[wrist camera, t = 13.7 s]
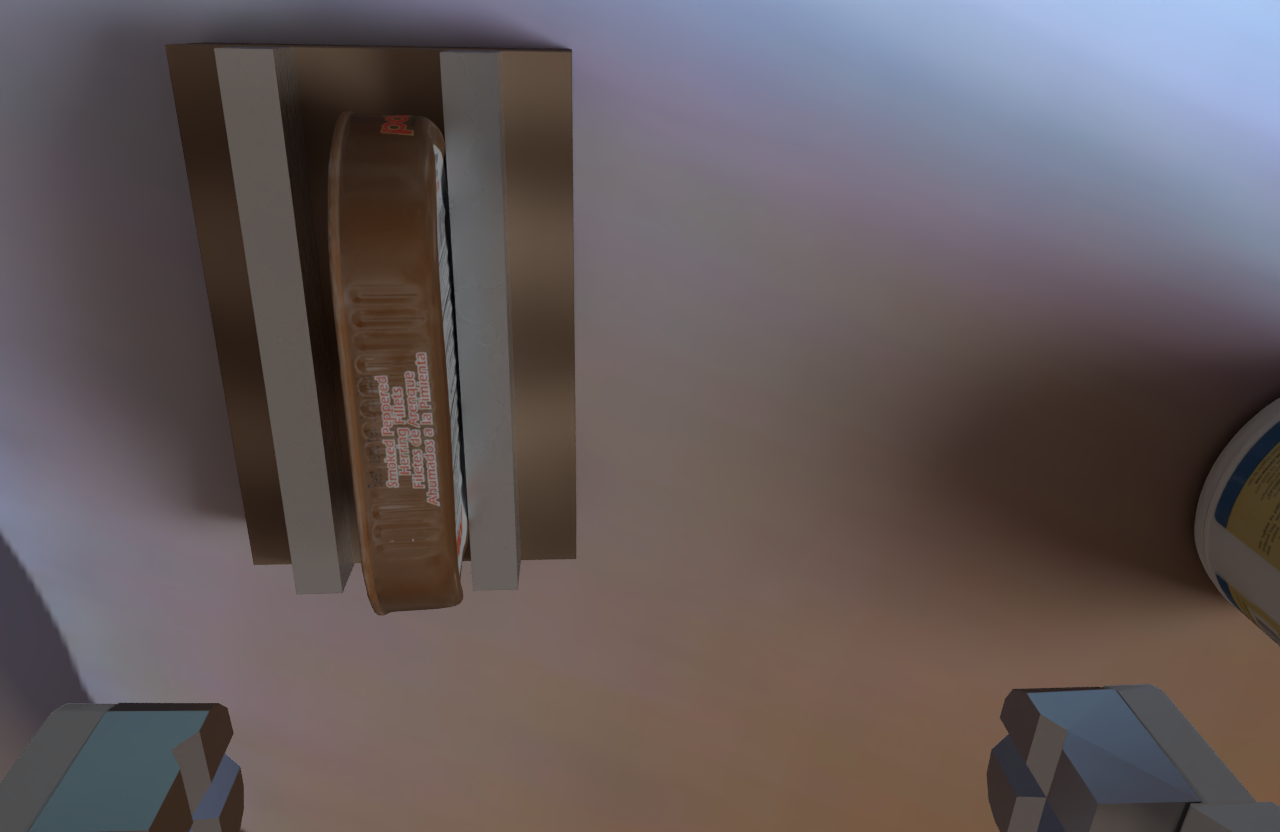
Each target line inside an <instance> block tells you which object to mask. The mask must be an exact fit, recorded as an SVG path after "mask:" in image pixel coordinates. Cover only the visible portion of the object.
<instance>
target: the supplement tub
mask: <svg viewBox="0 0 1280 832" xmlns="http://www.w3.org/2000/svg"><path fill="white" fill-rule="evenodd" d="M1194 537H1195V544H1196V548H1197V552H1198V555H1199V558H1200V560H1201V562H1202V564H1203V566H1204V569H1205V571H1206V572H1207V574H1208V576H1209V577H1210V579H1211V580H1212V582H1213V583H1214V585H1215V586H1216V588H1217V589H1218V590H1219V592H1220V593H1221V594H1222V596H1223V597H1224V598H1225V599H1226V600H1227V601H1228V602H1229V603H1230V604H1231V605H1232V606H1234V607H1235V608H1236V609H1238V610H1239V611H1241V612H1242V613H1243V614H1244V615H1245V616H1246V617H1247V618H1248V619H1250V620H1251V621H1252V622H1253V623H1254V624H1255V625H1256V626H1257V627H1259V628H1260V629H1261V630H1262V631H1263V632H1264V633H1265V634H1266V635H1268V636H1269V637H1270V638H1271V639H1272V640H1273V641H1274V642H1275V643H1277V644H1278V645H1279V646H1280V398H1278V399H1276V400H1275V401H1274V402H1272V403H1271V404H1269V405H1268V406H1266V407H1265V408H1263V409H1262V410H1261V411H1260V412H1258V413H1257V414H1256V415H1255V416H1254V417H1253V418H1252V419H1251V420H1249V421H1248V422H1247V423H1246V424H1245V425H1244V426H1243V427H1242V428H1241V429H1240V430H1239V431H1238V432H1237V433H1236V434H1235V435H1234V437H1233V438H1232V439H1231V440H1230V442H1229V443H1228V444H1227V445H1226V447H1225V448H1224V449H1223V451H1222V452H1221V453H1220V455H1219V457H1218V458H1217V460H1216V461H1215V463H1214V464H1213V466H1212V468H1211V470H1210V472H1209V474H1208V476H1207V478H1206V480H1205V483H1204V486H1203V488H1202V491H1201V493H1200V497H1199V500H1198V505H1197V510H1196V516H1195V525H1194Z"/></svg>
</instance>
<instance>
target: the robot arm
mask: <svg viewBox="0 0 1280 832" xmlns="http://www.w3.org/2000/svg"><path fill="white" fill-rule="evenodd" d="M1000 719H1001V721H1002V722H1003V724H1004V726H1005V728H1006V729H1007V731H1008V733H1009V734H1008V735H1007V736H1006V737H1005V738H1004V739H1003V740H1002V741H1000V742H999V743H998V744H997V745H996V746H995V747H994V748H993V749H992V750H991V755H990V760H989V765H988V769H987V786H988V799H989V803H990V806H991V810H992V813H993V817H994V820H995V822H996V824H997V826H998V829H999V831H1000V832H1280V807H1279V806H1278V805H1276V804H1274V803H1273V802H1256V801H1255V799H1254V798H1253V797H1252V796H1251V795H1250V793H1249V792H1248V791H1247V790H1246V789H1245V787H1244V786H1243V785H1242V784H1241V783H1240V782H1239V780H1238V779H1237V778H1236V777H1235V776H1234V774H1233V773H1232V772H1231V771H1230V770H1229V768H1228V767H1227V766H1226V765H1225V764H1224V763H1223V761H1222V760H1221V759H1220V758H1219V757H1218V755H1217V754H1216V753H1215V752H1214V751H1213V749H1212V748H1211V747H1210V746H1209V745H1208V744H1207V742H1206V741H1205V740H1204V739H1203V738H1202V736H1201V735H1200V734H1199V733H1198V732H1197V730H1196V729H1195V728H1194V727H1193V726H1192V725H1191V723H1190V722H1189V721H1188V720H1187V719H1186V717H1185V716H1184V715H1183V714H1182V713H1181V711H1180V710H1179V709H1178V708H1177V707H1176V706H1175V704H1174V703H1173V702H1172V701H1171V700H1170V698H1169V697H1168V696H1167V695H1166V694H1165V693H1164V692H1163V691H1162V690H1160V689H1158V688H1157V687H1155V686H1153V685H1151V684H1141V685H1113V686H1104V687H1066V688H1028V689H1012V691H1011V692H1010V693H1009V695H1008V696H1007V697H1006V698H1005V701H1004V704H1003V708H1002V711H1001V715H1000ZM232 736H233V729H232V725H231V721H230V716H229V712H228V708H226V707H225V706H223V705H221V704H219V703H118V704H68V703H67V704H65V705H63V706H62V707H60V708H58V709H57V710H55V711H53V712H52V713H51V714H50V715H49V717H48V718H47V720H46V721H45V722H44V724H43V725H42V726H41V728H40V729H39V730H38V732H37V733H36V735H35V736H34V737H33V739H32V740H31V741H30V743H29V745H28V746H27V747H26V748H25V750H24V751H23V752H22V754H21V755H20V757H19V758H18V759H17V761H16V762H15V764H14V765H13V766H12V768H11V769H10V770H9V772H8V773H7V775H6V776H5V777H4V779H3V780H2V781H1V783H0V832H240V827H241V821H242V816H243V810H244V785H243V779H242V774H241V768H240V766H239V765H238V764H237V763H235V762H234V761H233V760H232V759H231V758H230V757H229V756H227V755H226V754H225V751H226V749H227V747H228V745H229V742H230V740H231V738H232Z"/></svg>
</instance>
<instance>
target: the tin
mask: <svg viewBox="0 0 1280 832" xmlns="http://www.w3.org/2000/svg"><path fill="white" fill-rule="evenodd" d="M328 167H329V170H328V250H329V266H330V280H331V288H332V301H333V311H334V319H335V328H336V338H337V347H338V355H339V362H340V375H341V383H342V393H343V400H344V410H345V416H346V425H347V436H348V445H349V454H350V464H351V471H352V480H353V492H354V500H355V508H356V518H357V528H358V539H359V547H360V556H361V564H362V571H363V576H364V581H365V585H366V590H367V595H368V598H369V601H370V603H371V605H372V608H373V610H374V612H375V613H376V614H378V615H386V614H388V613H390V612H396V611H410V610H427V609H439V608H446V607H452V606H456V605H458V604H460V603H461V602H462V600H463V590H462V587H461V582H460V579H461V568H462V560H463V556H464V553H465V550H466V546H467V542H468V530H469V518H468V502H467V486H466V470H465V454H464V438H463V421H462V405H461V389H460V373H459V357H458V341H457V325H456V308H455V292H454V276H453V260H452V244H451V228H450V212H449V195H448V179H447V163H446V147H445V141H444V138H443V135H442V133H441V131H440V130H439V128H438V127H437V126H436V125H435V124H434V123H433V122H431V121H430V120H429V119H428V118H425V117H422V116H410V115H394V116H373V115H357V114H356V113H355V112H352V111H344V112H342V113H341V115H340V116H339V118H338V120H337V122H336V125H335V129H334V134H333V138H332V145H331V150H330V160H329V165H328Z"/></svg>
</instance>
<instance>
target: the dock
mask: <svg viewBox="0 0 1280 832" xmlns="http://www.w3.org/2000/svg"><path fill="white" fill-rule="evenodd" d="M165 46H166V52H167V58H168V64H169V70H170V76H171V82H172V87H173V93H174V99H175V105H176V111H177V117H178V123H179V129H180V134H181V140H182V146H183V152H184V158H185V164H186V170H187V176H188V181H189V187H190V193H191V199H192V205H193V211H194V217H195V223H196V228H197V234H198V240H199V246H200V252H201V258H202V264H203V270H204V275H205V281H206V287H207V293H208V299H209V305H210V311H211V317H212V322H213V328H214V334H215V340H216V346H217V352H218V358H219V364H220V369H221V375H222V381H223V387H224V393H225V399H226V405H227V411H228V416H229V422H230V428H231V434H232V440H233V446H234V452H235V458H236V463H237V469H238V475H239V481H240V487H241V493H242V499H243V505H244V510H245V516H246V522H247V528H248V534H249V540H250V546H251V552H252V557H253V563H254V565H268V564H292V568H293V575H294V581H295V588H296V594H330V593H343V591H344V588H345V586H346V583H347V581H348V578H349V576H350V573H351V571H352V568H353V566H354V564H355V563H361V556H360V547H359V539H358V528H357V518H356V508H355V500H354V492H353V480H352V471H351V464H350V454H349V445H348V436H347V425H346V416H345V410H344V400H343V393H342V383H341V375H340V362H339V355H338V347H337V338H336V328H335V319H334V311H333V301H332V288H331V280H330V266H329V250H328V170H329V167H328V165H329V160H330V150H331V145H332V138H333V134H334V129H335V125H336V122H337V120H338V118H339V116H340V115H341V113H342V112H344V111H352V112H355V113H356V114H357V115H373V116H394V115H410V116H422V117H425V118H428V119H429V120H430V121H431V122H433V123H434V124H435V125H436V126H437V127H438V128H439V130H440V131H441V133H442V135H443V138H444V141H445V147H446V163H447V179H448V195H449V212H450V228H451V244H452V260H453V276H454V292H455V308H456V325H457V341H458V357H459V373H460V389H461V405H462V421H463V438H464V454H465V470H466V486H467V502H468V518H469V530H468V542H467V546H466V550H465V553H464V556H463V560H462V561H471V567H472V583H473V591H477V590H518V583H519V573H520V563H521V560H542V559H576V452H575V348H574V244H573V140H572V49H525V48H470V47H415V46H361V45H306V44H251V43H188V44H172V45H165Z"/></svg>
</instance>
